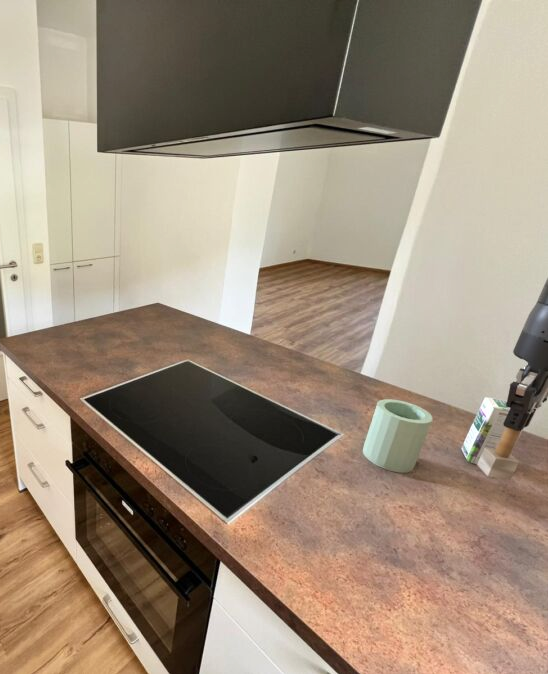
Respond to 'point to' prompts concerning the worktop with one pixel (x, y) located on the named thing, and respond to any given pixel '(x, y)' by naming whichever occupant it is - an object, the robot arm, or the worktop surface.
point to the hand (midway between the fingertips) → (515, 426)
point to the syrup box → (486, 429)
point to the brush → (500, 456)
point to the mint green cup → (396, 435)
